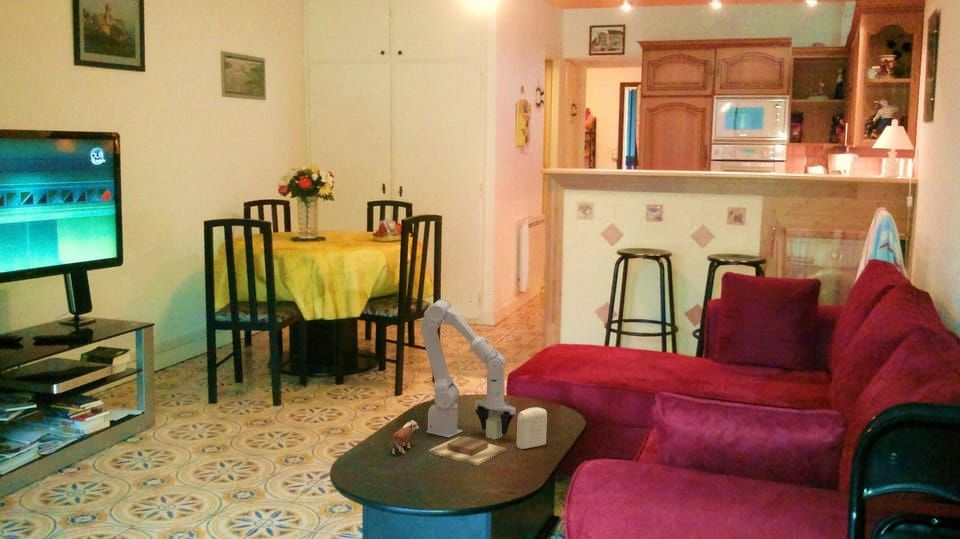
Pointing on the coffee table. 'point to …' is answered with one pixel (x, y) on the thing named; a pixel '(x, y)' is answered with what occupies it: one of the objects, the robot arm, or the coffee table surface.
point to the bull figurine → (404, 436)
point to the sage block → (493, 428)
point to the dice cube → (496, 412)
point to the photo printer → (531, 428)
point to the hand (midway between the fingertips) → (494, 431)
